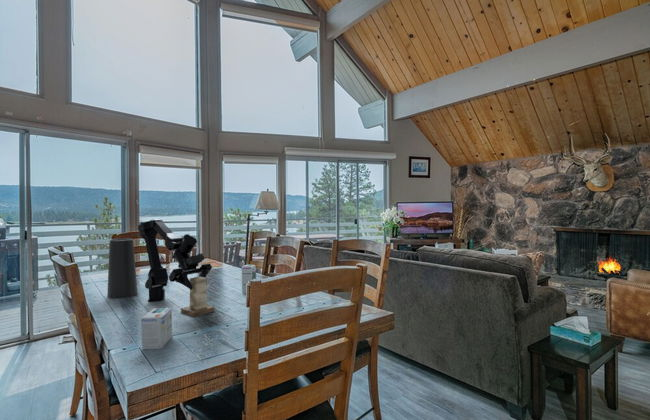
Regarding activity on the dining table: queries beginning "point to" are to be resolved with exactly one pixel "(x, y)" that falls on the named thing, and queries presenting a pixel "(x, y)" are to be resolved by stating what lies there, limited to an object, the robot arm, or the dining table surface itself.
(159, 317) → the light bulb box
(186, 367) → the dining table surface
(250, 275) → the syrup box
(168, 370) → the dining table surface
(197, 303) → the maple block
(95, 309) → the dining table surface
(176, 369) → the dining table surface
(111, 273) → the vase
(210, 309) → the walnut block
